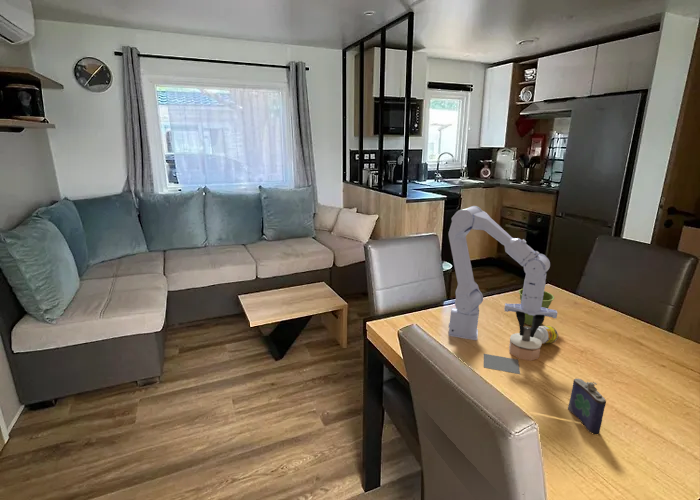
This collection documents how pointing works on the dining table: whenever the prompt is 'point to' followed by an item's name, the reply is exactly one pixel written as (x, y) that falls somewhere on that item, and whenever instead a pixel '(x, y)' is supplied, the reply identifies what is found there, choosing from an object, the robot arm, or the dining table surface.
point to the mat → (501, 363)
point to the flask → (587, 405)
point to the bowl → (523, 352)
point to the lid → (526, 339)
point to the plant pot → (545, 303)
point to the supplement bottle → (546, 334)
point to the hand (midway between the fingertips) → (526, 334)
